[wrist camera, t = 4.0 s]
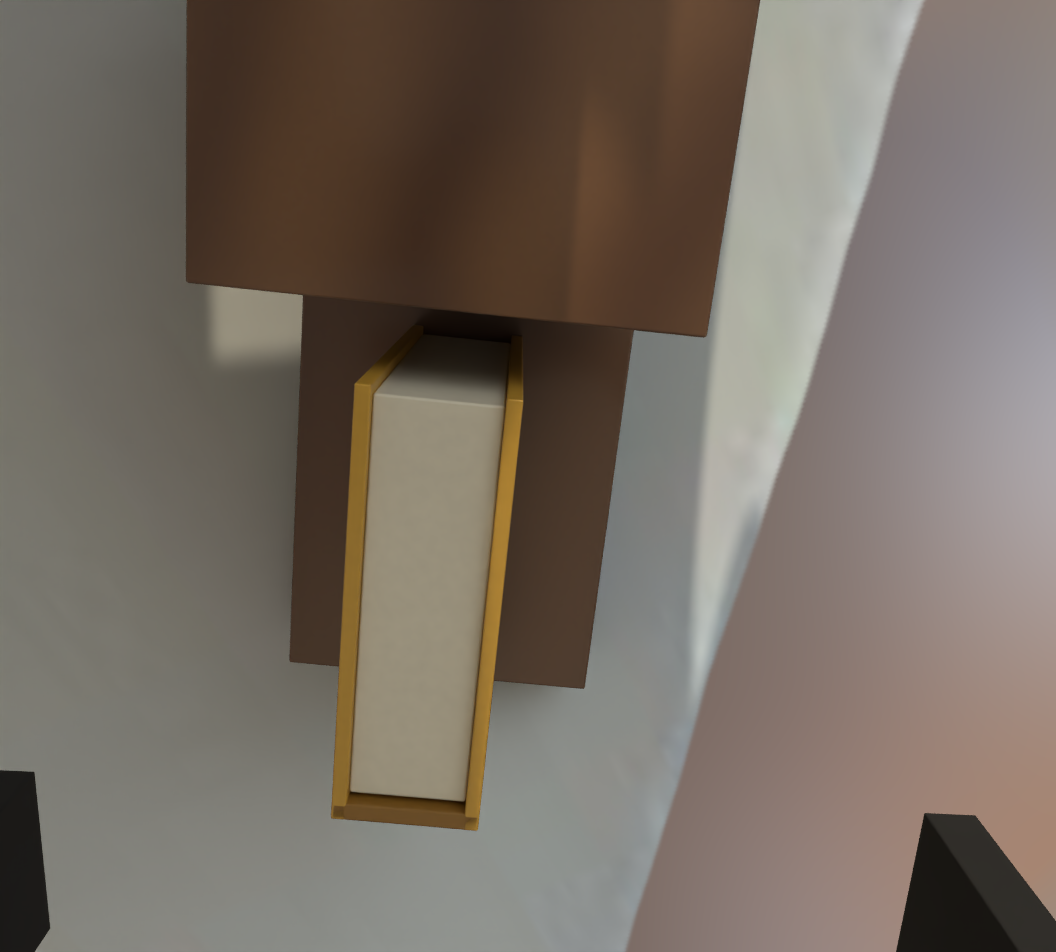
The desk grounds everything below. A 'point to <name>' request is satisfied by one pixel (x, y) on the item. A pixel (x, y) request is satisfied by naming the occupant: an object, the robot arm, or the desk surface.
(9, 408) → the desk surface
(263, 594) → the desk surface
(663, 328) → the step shelf
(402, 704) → the ochre book
